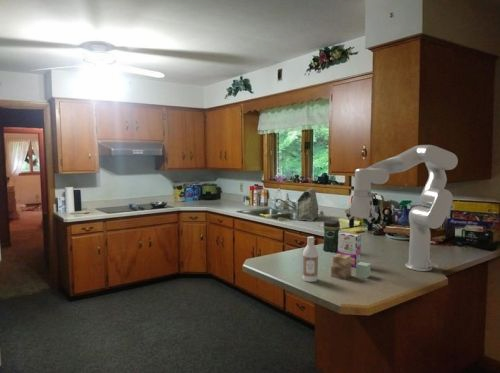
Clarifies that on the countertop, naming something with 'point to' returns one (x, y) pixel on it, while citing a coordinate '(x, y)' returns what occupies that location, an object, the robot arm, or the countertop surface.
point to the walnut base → (340, 272)
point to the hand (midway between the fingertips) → (360, 229)
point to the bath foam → (310, 262)
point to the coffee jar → (331, 235)
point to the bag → (307, 206)
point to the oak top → (341, 261)
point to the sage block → (363, 269)
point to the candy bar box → (350, 246)
